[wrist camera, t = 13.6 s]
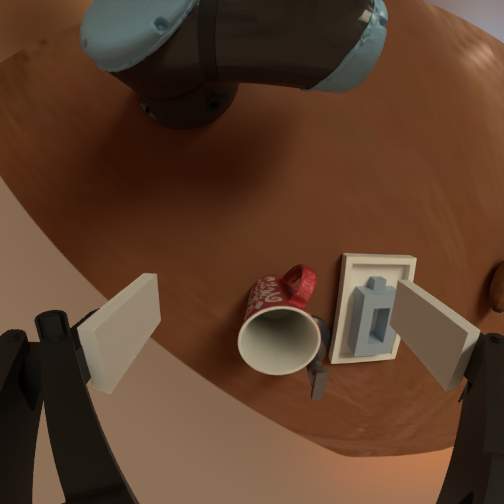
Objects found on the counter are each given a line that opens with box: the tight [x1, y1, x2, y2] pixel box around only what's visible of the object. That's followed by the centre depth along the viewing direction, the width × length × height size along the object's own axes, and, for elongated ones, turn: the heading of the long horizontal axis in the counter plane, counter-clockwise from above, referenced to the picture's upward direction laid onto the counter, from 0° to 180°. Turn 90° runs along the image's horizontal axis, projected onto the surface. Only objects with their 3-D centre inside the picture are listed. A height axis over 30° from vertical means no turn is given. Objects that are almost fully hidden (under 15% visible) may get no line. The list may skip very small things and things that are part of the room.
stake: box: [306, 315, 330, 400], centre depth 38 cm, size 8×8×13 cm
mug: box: [238, 264, 321, 375], centre depth 36 cm, size 13×9×14 cm
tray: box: [328, 253, 417, 364], centre depth 42 cm, size 18×12×2 cm, turn 178°
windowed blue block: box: [347, 276, 396, 357], centre depth 40 cm, size 12×6×4 cm, turn 179°
